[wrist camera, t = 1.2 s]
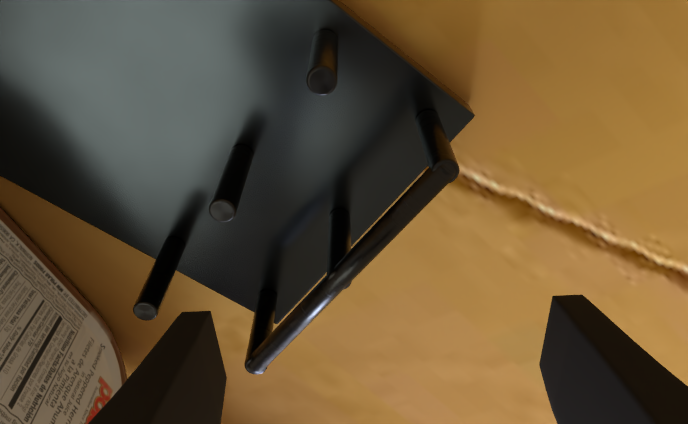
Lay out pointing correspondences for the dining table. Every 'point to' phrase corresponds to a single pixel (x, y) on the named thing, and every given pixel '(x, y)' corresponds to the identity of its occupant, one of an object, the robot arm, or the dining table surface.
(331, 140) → the rack
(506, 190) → the dining table surface
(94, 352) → the tin
